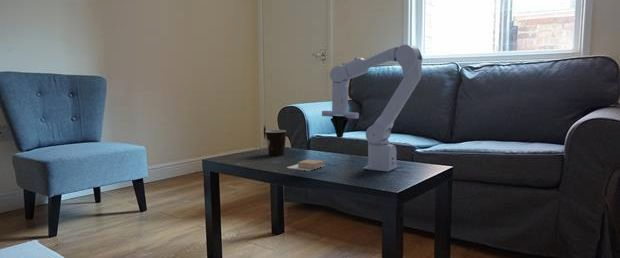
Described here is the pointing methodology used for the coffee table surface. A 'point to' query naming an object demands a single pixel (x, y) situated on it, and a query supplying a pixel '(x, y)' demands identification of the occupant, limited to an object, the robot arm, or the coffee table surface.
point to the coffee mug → (276, 142)
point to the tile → (310, 164)
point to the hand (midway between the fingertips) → (339, 137)
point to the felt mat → (300, 168)
